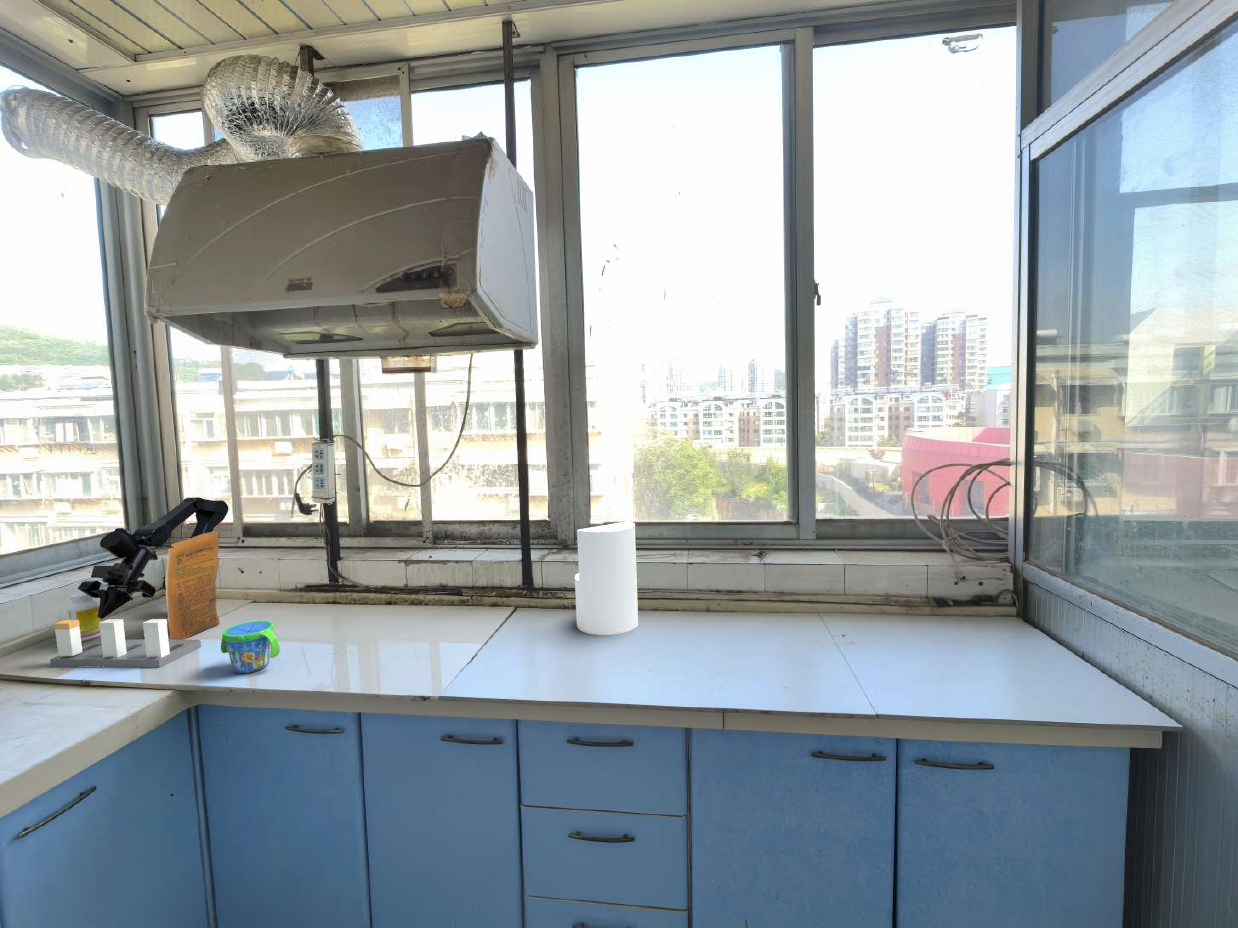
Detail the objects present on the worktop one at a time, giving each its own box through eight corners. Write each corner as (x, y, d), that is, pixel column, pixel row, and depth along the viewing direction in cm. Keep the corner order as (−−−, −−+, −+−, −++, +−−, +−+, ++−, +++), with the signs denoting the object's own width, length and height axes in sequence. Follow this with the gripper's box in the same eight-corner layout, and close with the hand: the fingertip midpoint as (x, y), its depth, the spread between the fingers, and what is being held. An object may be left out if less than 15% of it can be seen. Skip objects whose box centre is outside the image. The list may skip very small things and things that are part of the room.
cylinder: (650, 624, 165) (647, 525, 163) (598, 640, 156) (594, 534, 153) (615, 609, 180) (612, 517, 177) (565, 622, 170) (561, 525, 167)
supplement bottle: (108, 633, 174) (103, 590, 173) (86, 642, 168) (80, 597, 166) (87, 633, 175) (82, 590, 174) (64, 642, 168) (59, 597, 167)
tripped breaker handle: (68, 651, 154) (64, 619, 153) (82, 651, 154) (78, 619, 153) (58, 655, 151) (54, 623, 151) (72, 656, 151) (68, 623, 150)
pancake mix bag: (235, 620, 182) (226, 529, 180) (179, 644, 163) (168, 543, 161) (216, 619, 183) (207, 529, 181) (158, 643, 165) (147, 543, 162)
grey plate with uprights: (100, 646, 164) (95, 607, 163) (201, 646, 161) (197, 607, 160) (50, 666, 151) (45, 624, 150) (159, 667, 148) (155, 624, 147)
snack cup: (294, 663, 148) (290, 623, 147) (254, 681, 138) (250, 639, 137) (249, 655, 154) (246, 617, 153) (208, 672, 144) (204, 632, 143)
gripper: (79, 552, 165) (43, 604, 155) (141, 551, 163) (108, 604, 153) (110, 572, 174) (77, 622, 164) (169, 571, 172) (139, 622, 162)
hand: (100, 617), depth 161 cm, fingers closed
